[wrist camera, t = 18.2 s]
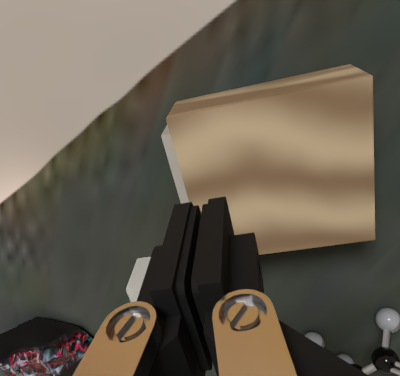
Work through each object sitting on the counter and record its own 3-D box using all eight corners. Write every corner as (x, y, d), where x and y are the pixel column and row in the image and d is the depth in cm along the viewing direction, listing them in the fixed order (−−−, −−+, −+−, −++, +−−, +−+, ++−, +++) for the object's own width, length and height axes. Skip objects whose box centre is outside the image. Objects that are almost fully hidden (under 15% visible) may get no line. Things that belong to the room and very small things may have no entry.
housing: (356, 207, 35) (375, 239, 31) (209, 229, 38) (205, 261, 33) (350, 64, 29) (372, 75, 25) (176, 101, 32) (165, 118, 27)
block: (190, 286, 42) (184, 319, 38) (149, 291, 43) (140, 324, 38) (179, 252, 40) (172, 283, 35) (137, 258, 41) (125, 289, 36)
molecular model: (295, 334, 44) (312, 424, 35) (376, 281, 40) (420, 369, 30) (339, 365, 46) (366, 458, 37) (421, 319, 42) (476, 412, 32)
